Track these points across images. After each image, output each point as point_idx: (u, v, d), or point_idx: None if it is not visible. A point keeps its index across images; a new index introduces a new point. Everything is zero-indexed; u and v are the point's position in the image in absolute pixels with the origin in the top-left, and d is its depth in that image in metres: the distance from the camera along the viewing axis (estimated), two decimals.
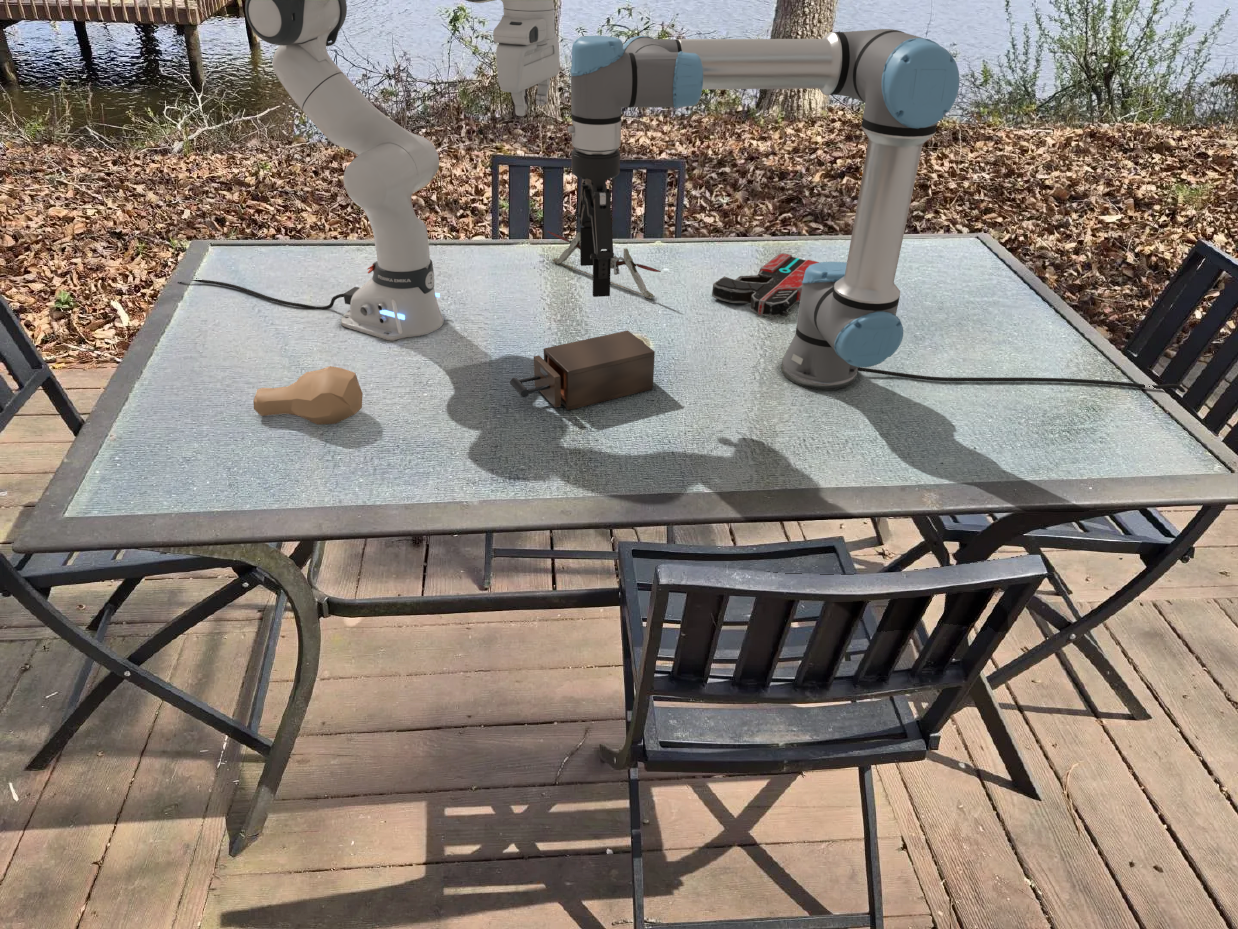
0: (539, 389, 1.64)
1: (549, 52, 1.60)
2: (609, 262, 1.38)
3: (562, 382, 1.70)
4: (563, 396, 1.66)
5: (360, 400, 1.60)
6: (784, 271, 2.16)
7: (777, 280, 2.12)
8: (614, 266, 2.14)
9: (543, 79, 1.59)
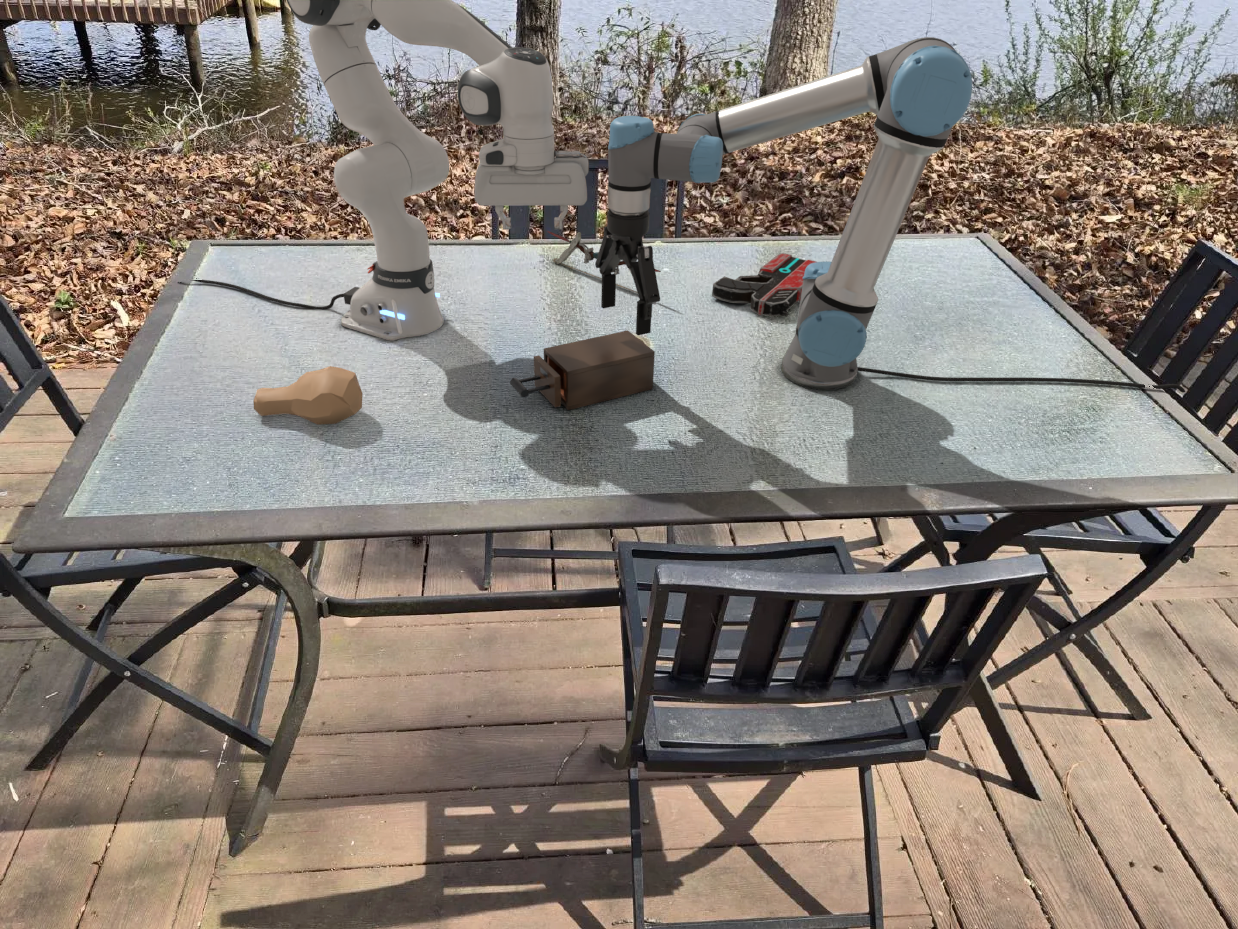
0: (539, 389, 1.64)
1: (560, 181, 1.55)
2: None
3: (562, 382, 1.70)
4: (563, 396, 1.66)
5: (360, 400, 1.60)
6: (784, 271, 2.16)
7: (777, 280, 2.12)
8: None
9: (540, 203, 1.57)
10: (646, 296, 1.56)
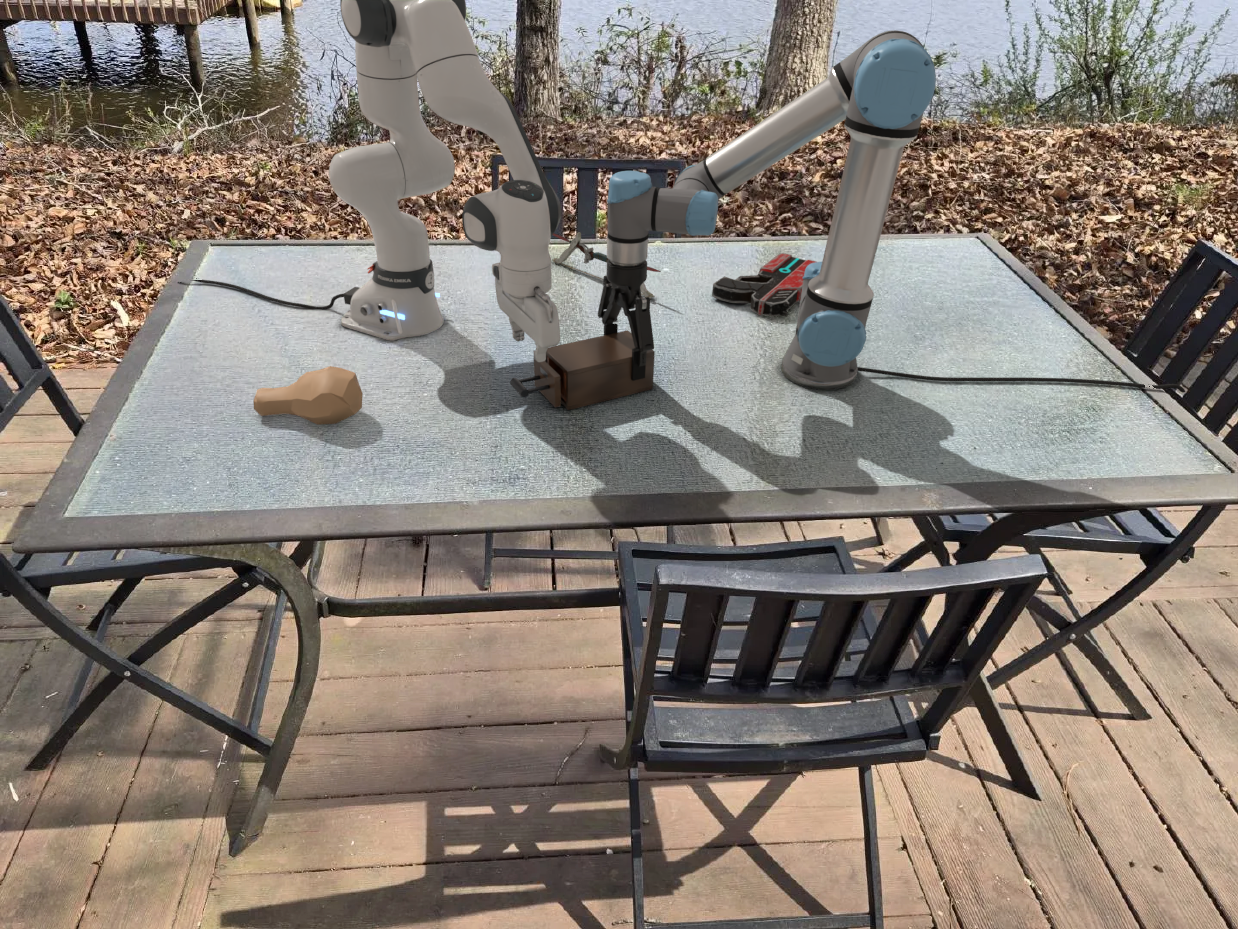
0: (539, 389, 1.64)
1: (531, 316, 1.51)
2: None
3: (562, 382, 1.70)
4: (563, 396, 1.66)
5: (360, 400, 1.60)
6: (784, 271, 2.16)
7: (777, 280, 2.12)
8: None
9: (522, 329, 1.56)
10: (641, 345, 1.62)
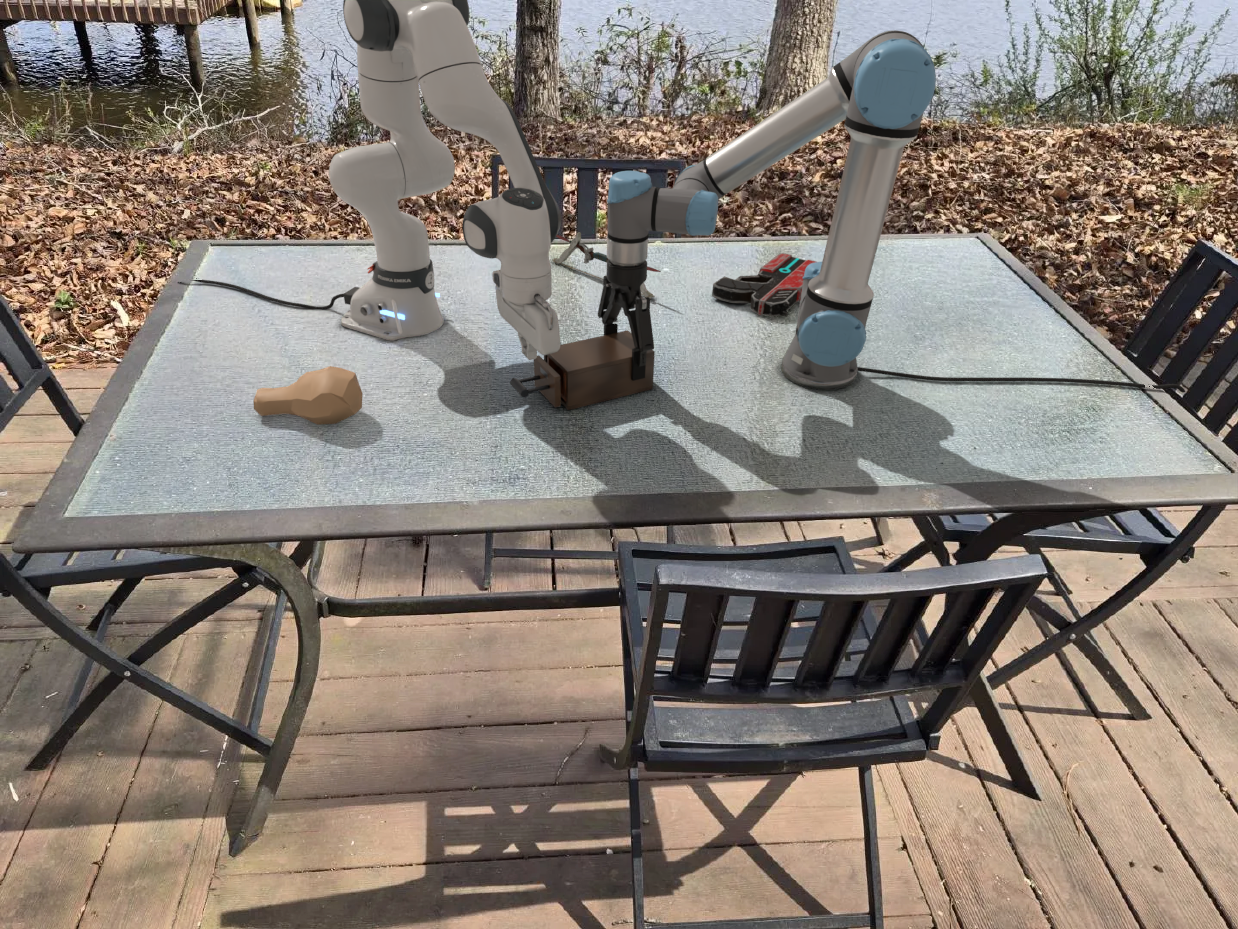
0: (539, 389, 1.64)
1: (532, 323, 1.52)
2: None
3: (562, 382, 1.70)
4: (563, 396, 1.66)
5: (360, 400, 1.60)
6: (784, 271, 2.16)
7: (777, 280, 2.12)
8: None
9: (523, 336, 1.57)
10: (641, 345, 1.62)
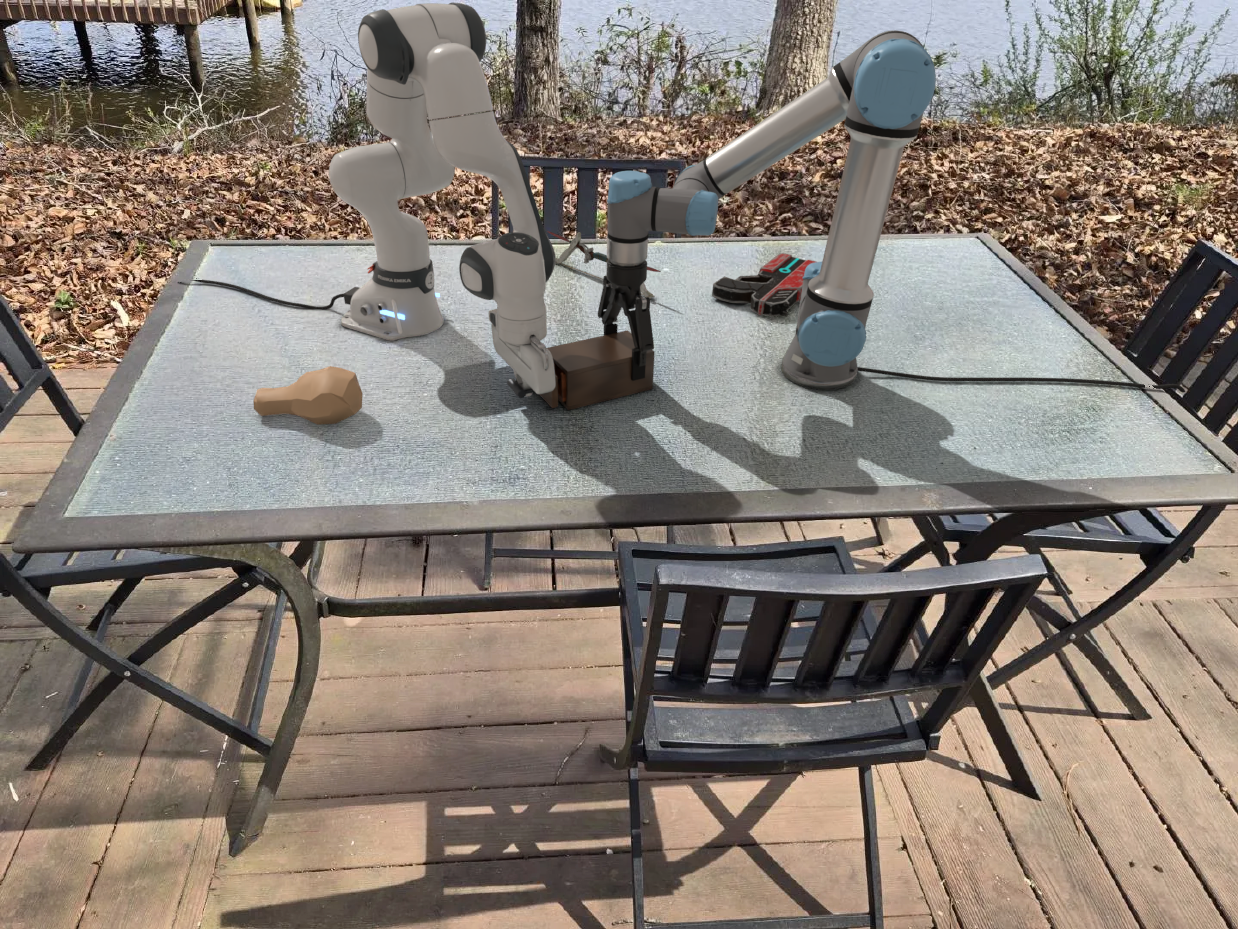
0: None
1: (527, 363, 1.56)
2: (604, 329, 1.74)
3: (559, 383, 1.70)
4: (560, 397, 1.66)
5: (360, 400, 1.60)
6: (784, 271, 2.16)
7: (777, 280, 2.12)
8: None
9: (518, 374, 1.61)
10: (641, 345, 1.62)
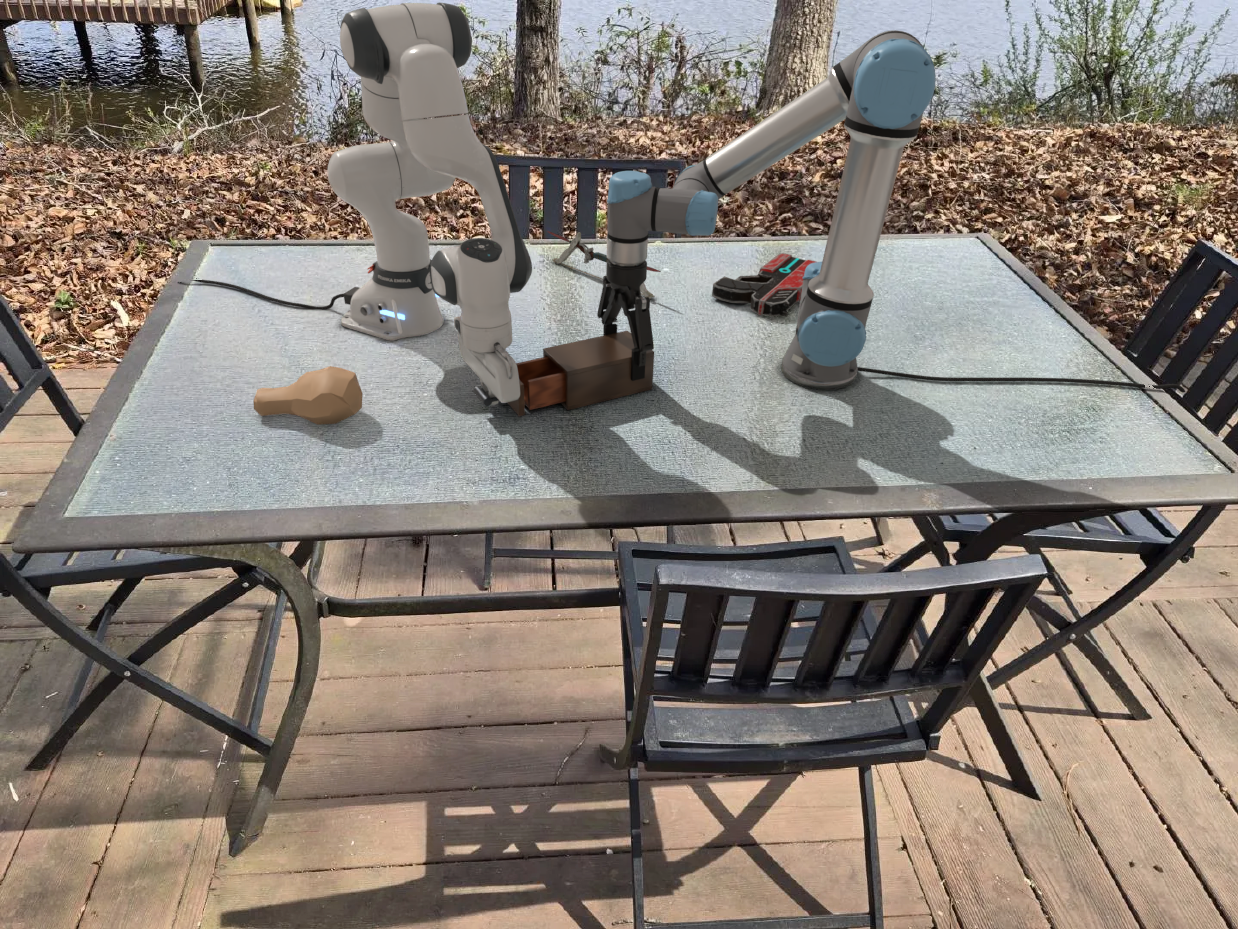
0: None
1: (492, 371, 1.53)
2: None
3: (527, 390, 1.67)
4: (527, 405, 1.63)
5: (360, 400, 1.60)
6: (784, 271, 2.16)
7: (777, 280, 2.12)
8: None
9: (484, 382, 1.58)
10: (640, 345, 1.62)
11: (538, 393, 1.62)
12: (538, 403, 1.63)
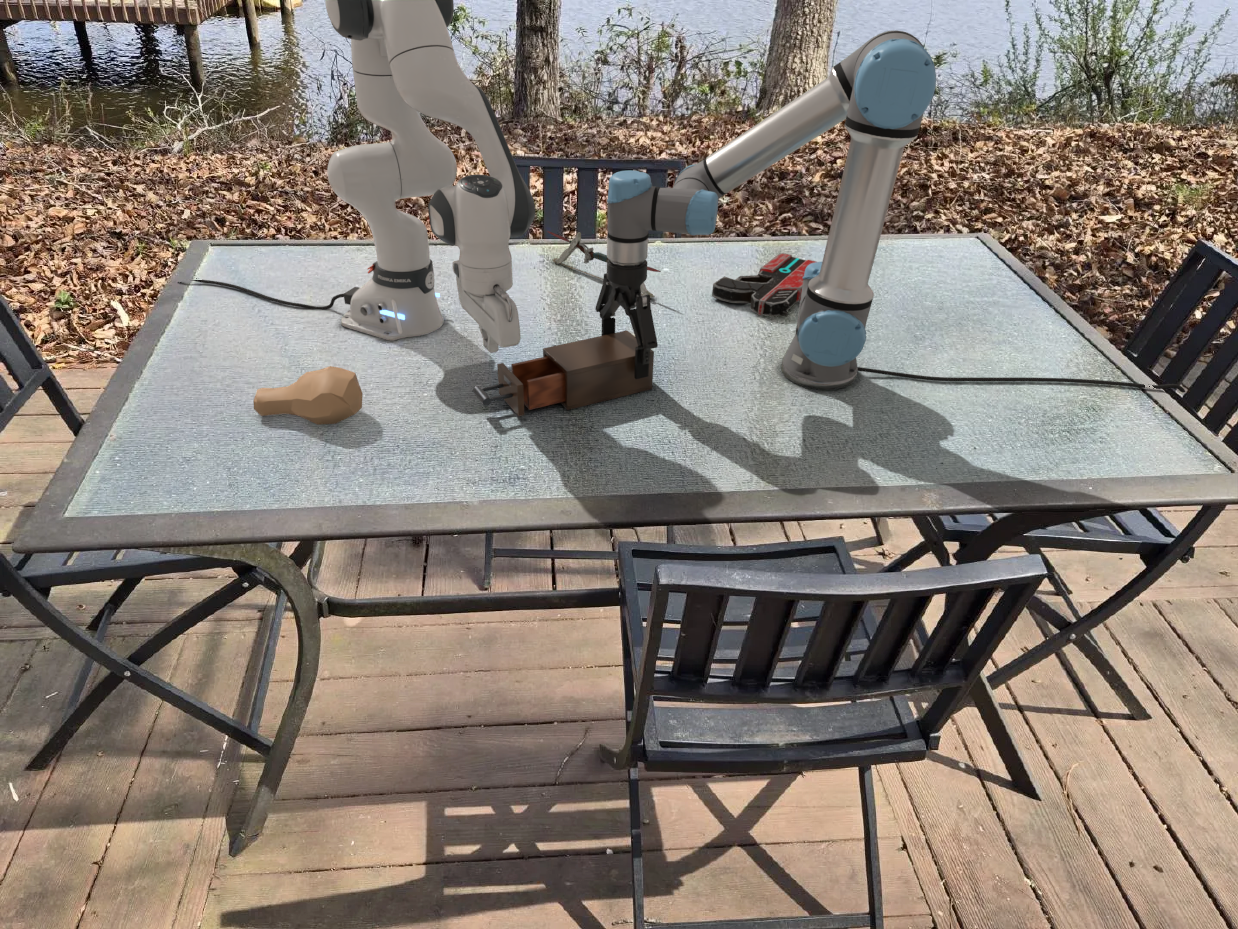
0: (502, 397, 1.60)
1: (491, 315, 1.47)
2: (602, 323, 1.75)
3: (527, 390, 1.67)
4: (527, 404, 1.63)
5: (360, 400, 1.60)
6: (784, 271, 2.16)
7: (777, 280, 2.12)
8: None
9: (483, 328, 1.52)
10: (644, 343, 1.61)
11: (537, 393, 1.62)
12: (537, 403, 1.63)
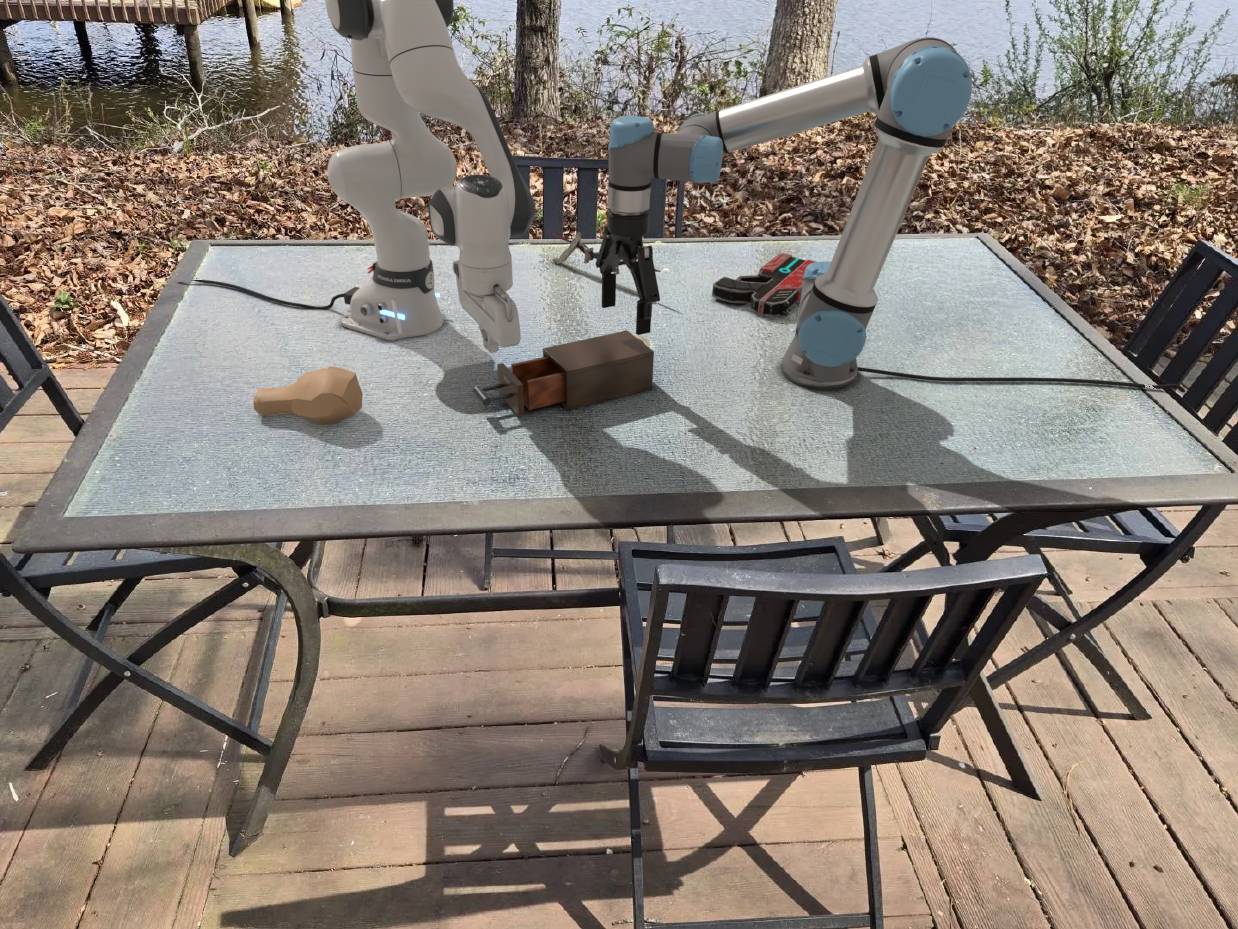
0: (502, 398, 1.61)
1: (491, 315, 1.47)
2: None
3: (527, 390, 1.67)
4: (527, 405, 1.63)
5: (360, 400, 1.60)
6: (784, 271, 2.16)
7: (777, 280, 2.12)
8: None
9: (483, 328, 1.52)
10: (646, 296, 1.56)
11: (537, 393, 1.62)
12: (537, 403, 1.63)
